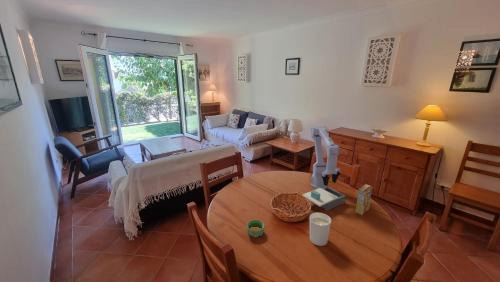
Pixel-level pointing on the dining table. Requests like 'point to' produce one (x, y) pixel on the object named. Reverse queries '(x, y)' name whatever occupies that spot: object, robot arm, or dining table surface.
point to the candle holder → (319, 228)
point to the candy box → (363, 199)
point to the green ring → (255, 224)
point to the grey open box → (336, 202)
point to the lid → (320, 196)
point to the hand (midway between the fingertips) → (329, 183)
